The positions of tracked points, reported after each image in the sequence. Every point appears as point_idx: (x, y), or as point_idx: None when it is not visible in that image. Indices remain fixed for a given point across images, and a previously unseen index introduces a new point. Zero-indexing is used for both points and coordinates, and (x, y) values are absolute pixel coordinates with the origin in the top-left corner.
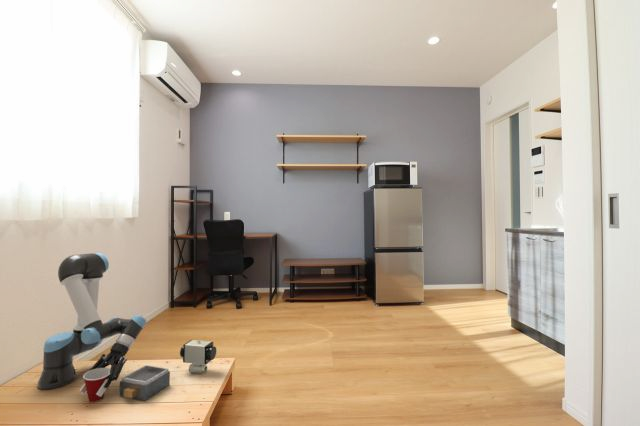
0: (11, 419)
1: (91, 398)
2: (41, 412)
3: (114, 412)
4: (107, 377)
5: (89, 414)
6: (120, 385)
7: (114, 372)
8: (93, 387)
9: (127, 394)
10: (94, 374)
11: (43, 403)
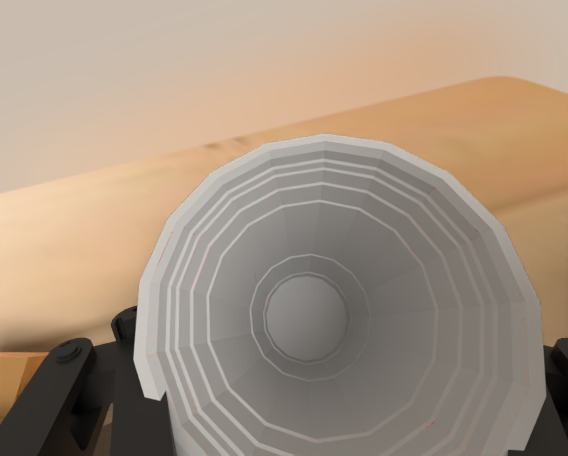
0: (491, 81)
1: (290, 265)
2: (441, 140)
3: (71, 237)
4: (181, 344)
5: (193, 189)
6: (109, 417)
7: (48, 421)
8: (262, 231)
9: (13, 353)
10: (452, 360)
11: (539, 191)
